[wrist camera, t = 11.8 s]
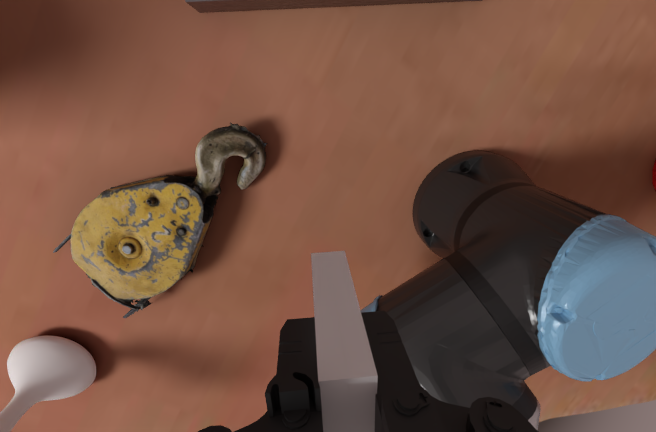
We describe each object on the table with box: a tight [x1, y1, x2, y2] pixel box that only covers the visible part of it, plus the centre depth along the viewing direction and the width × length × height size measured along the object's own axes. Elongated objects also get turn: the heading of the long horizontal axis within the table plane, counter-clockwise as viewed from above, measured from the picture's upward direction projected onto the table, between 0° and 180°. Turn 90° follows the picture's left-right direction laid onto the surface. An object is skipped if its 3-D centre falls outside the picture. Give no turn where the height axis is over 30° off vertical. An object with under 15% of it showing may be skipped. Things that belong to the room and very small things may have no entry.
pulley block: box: [53, 122, 267, 318], centre depth 38 cm, size 14×6×30 cm
